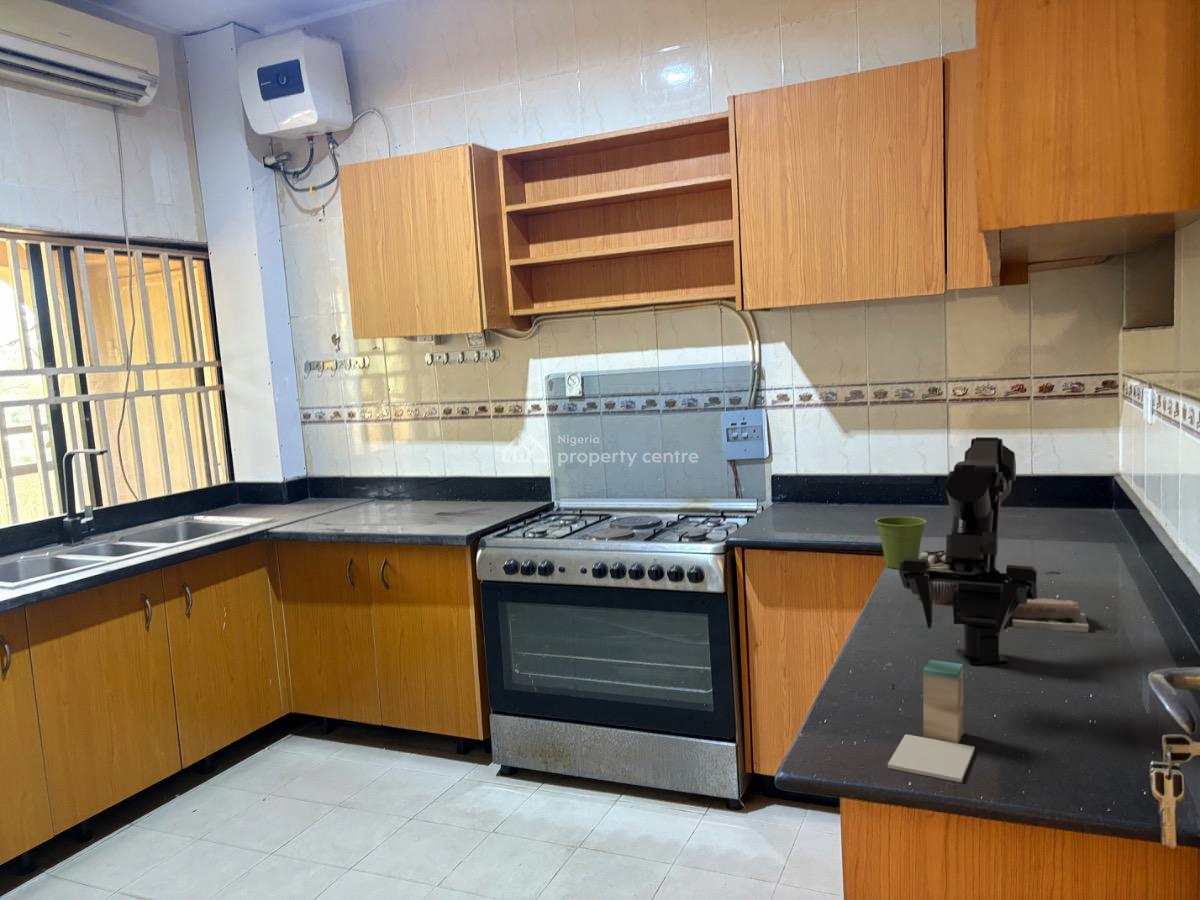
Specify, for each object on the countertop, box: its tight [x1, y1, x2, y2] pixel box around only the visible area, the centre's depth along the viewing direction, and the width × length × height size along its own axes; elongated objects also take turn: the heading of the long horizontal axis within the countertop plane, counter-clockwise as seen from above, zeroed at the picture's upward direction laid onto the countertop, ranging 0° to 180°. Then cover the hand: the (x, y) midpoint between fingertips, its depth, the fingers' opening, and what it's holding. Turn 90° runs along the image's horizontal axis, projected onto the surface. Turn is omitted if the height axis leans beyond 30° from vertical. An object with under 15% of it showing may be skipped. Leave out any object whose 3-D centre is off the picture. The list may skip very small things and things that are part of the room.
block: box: [922, 659, 964, 744], centre depth 124 cm, size 4×4×10 cm
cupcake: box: [914, 550, 958, 605], centre depth 189 cm, size 10×10×10 cm
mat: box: [887, 734, 976, 783], centre depth 118 cm, size 10×9×1 cm
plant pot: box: [874, 516, 927, 570], centre depth 217 cm, size 12×12×11 cm
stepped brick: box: [1012, 597, 1090, 633], centre depth 172 cm, size 18×5×10 cm
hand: (962, 631), depth 129 cm, fingers open, 9 cm apart
